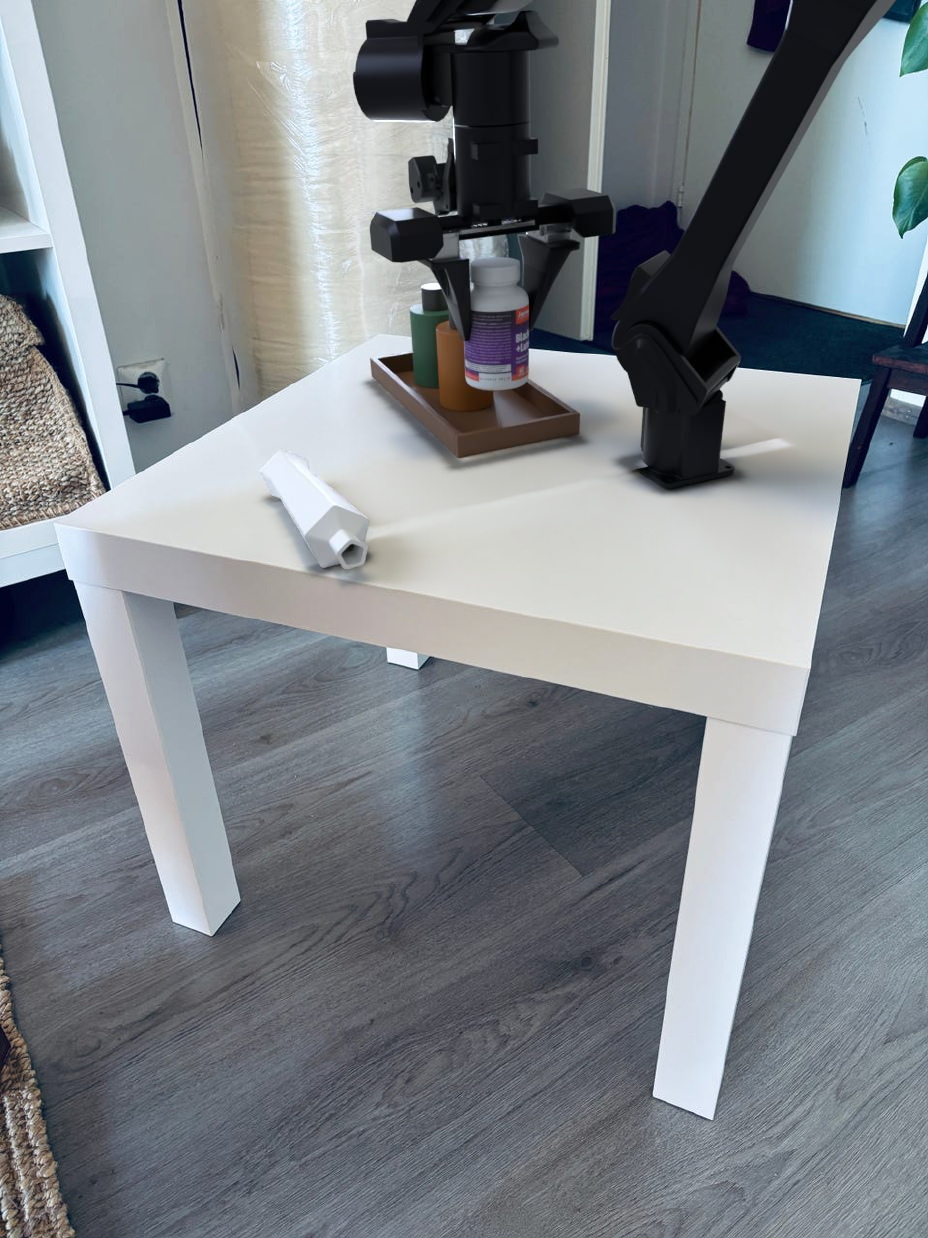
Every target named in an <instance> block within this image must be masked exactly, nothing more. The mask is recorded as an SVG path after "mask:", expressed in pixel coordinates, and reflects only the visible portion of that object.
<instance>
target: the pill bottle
mask: <svg viewBox="0 0 928 1238" xmlns="http://www.w3.org/2000/svg"><path fill="white" fill-rule="evenodd" d="M520 280H521V262H520V260H519V259H516V258H513V257H507V256H506V257H505V256H493V257H492V256H491V257H483V258H482V257H481V258H477V259H474V260H472V261H471V262H470V283H472V287H470V297H471V331H470V340H469V341H464V354H465V377H466V381H467V383H468V384H469V385H470V386H472V387H474V388H477V389H481V390H507V389H513V388H517V387H519V386H522V385H523V384H525V383H526V382H527V380H528V379H529V377H530V376H529V375H530V331H529V299H528V295H527V293H526V291H525V290H524V289H522V286H521V287H520V286H519V285H518V283H519V281H520Z"/></svg>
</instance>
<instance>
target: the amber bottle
mask: <svg viewBox="0 0 928 1238" xmlns="http://www.w3.org/2000/svg"><path fill="white" fill-rule="evenodd" d="M436 337H437V355H438V374H439V392H440V404H441V406H443V407H444V408H446V409H449V410H454V411H475V410H481V409H484V408H487V407H489V406H490V405H492V404H493V402H494V390H481V389H477V388H474V387H472V386H470V385H469V384H468V383H467V381H466V377H465V354H464V340H462V339H461V338H460V335H459V333H458V330H457V328H456V325H455V322H454V320H453V317H452V315H451V312H450V310H449V321H446V322H443V323H440V324H439V325H437V327H436Z"/></svg>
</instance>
